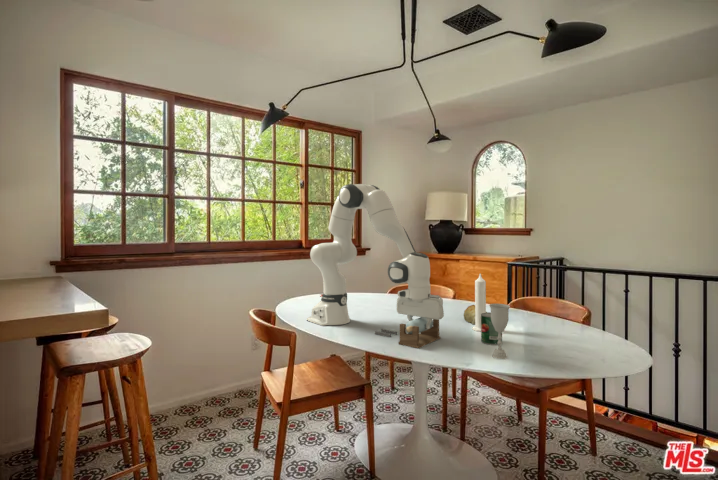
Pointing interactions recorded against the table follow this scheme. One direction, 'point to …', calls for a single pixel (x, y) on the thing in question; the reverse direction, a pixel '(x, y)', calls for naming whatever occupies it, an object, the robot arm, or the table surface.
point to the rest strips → (386, 332)
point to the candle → (479, 301)
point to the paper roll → (417, 322)
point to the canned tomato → (488, 330)
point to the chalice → (499, 325)
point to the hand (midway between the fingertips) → (419, 327)
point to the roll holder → (419, 335)
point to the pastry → (470, 314)
